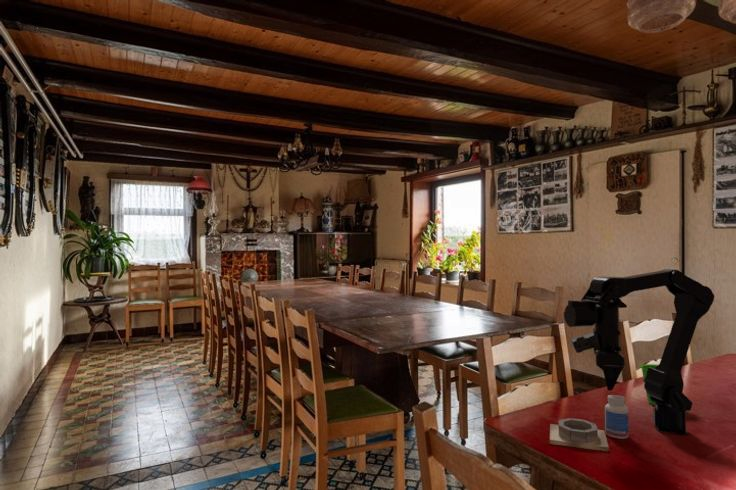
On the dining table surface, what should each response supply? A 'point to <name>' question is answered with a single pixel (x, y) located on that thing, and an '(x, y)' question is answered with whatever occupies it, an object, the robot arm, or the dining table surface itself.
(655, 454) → the dining table surface
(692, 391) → the dining table surface
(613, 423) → the pill bottle
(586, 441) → the collar
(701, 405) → the dining table surface
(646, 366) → the cup
